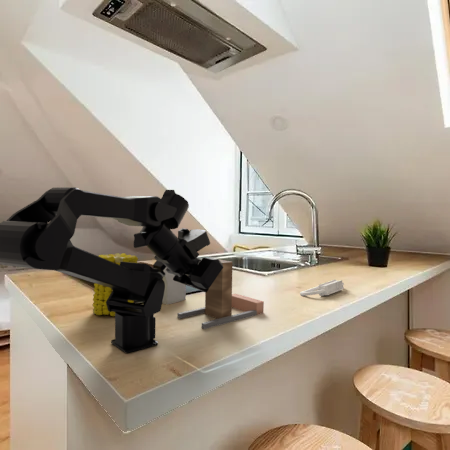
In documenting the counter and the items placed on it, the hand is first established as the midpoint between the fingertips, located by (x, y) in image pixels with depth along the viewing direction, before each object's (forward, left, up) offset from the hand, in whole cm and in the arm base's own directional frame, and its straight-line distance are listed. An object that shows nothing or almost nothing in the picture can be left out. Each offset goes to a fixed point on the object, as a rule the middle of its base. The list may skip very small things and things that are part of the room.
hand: (206, 290), depth 82 cm
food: (-14, +18, -7) cm, 23 cm away
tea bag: (+2, +18, -7) cm, 19 cm away
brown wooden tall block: (+3, 0, -6) cm, 7 cm away
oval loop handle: (+45, -1, -7) cm, 46 cm away
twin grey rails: (+4, 0, -7) cm, 8 cm away
